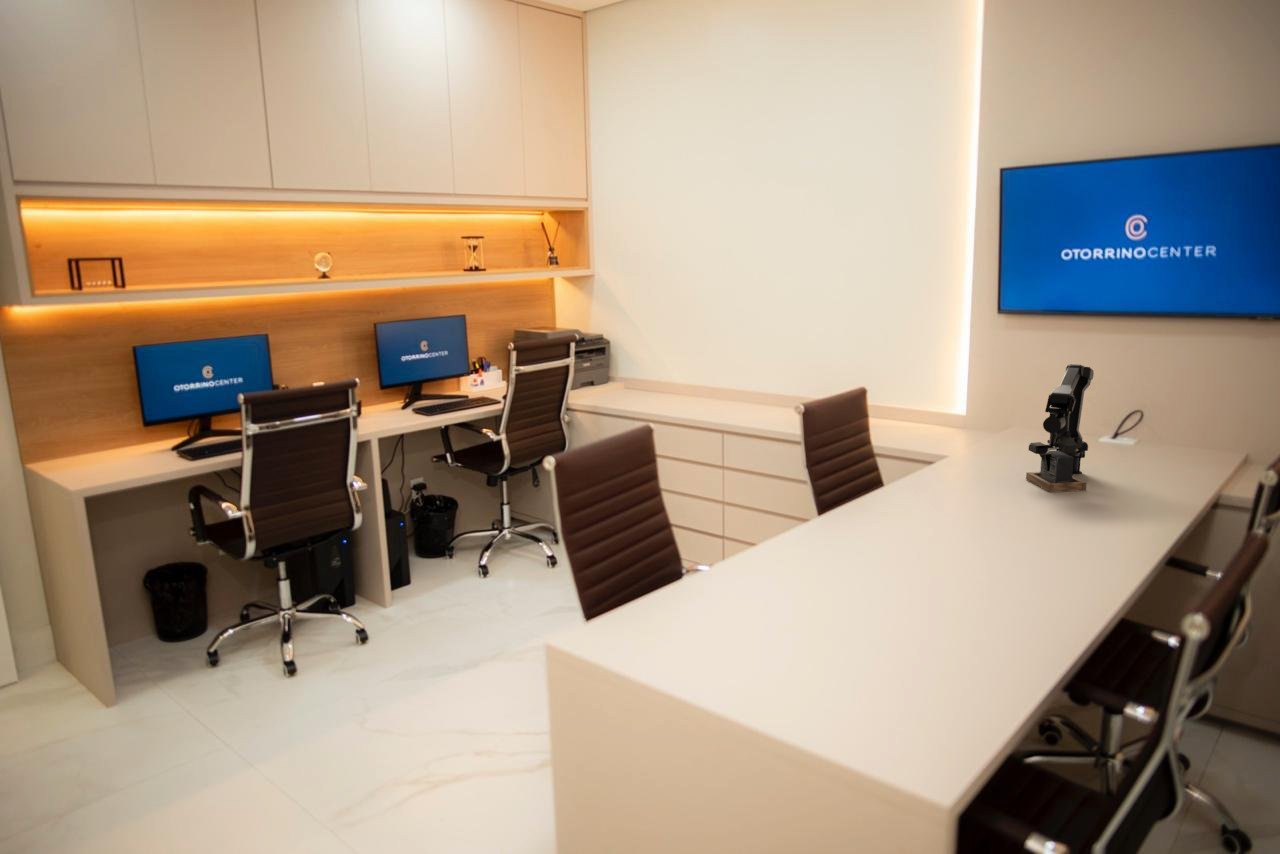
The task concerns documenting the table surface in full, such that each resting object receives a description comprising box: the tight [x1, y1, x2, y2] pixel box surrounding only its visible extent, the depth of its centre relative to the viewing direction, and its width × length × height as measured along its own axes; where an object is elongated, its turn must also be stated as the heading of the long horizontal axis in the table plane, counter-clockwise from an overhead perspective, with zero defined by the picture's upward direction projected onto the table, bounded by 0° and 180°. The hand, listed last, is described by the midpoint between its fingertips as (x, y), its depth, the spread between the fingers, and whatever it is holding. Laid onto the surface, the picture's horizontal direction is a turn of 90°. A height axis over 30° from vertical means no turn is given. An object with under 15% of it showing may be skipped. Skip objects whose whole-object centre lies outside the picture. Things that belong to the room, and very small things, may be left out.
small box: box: [1039, 450, 1074, 483], centre depth 300 cm, size 11×6×10 cm, turn 5°
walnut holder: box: [1025, 471, 1087, 493], centre depth 301 cm, size 13×16×3 cm
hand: (1056, 470), depth 300 cm, fingers open, 6 cm apart
